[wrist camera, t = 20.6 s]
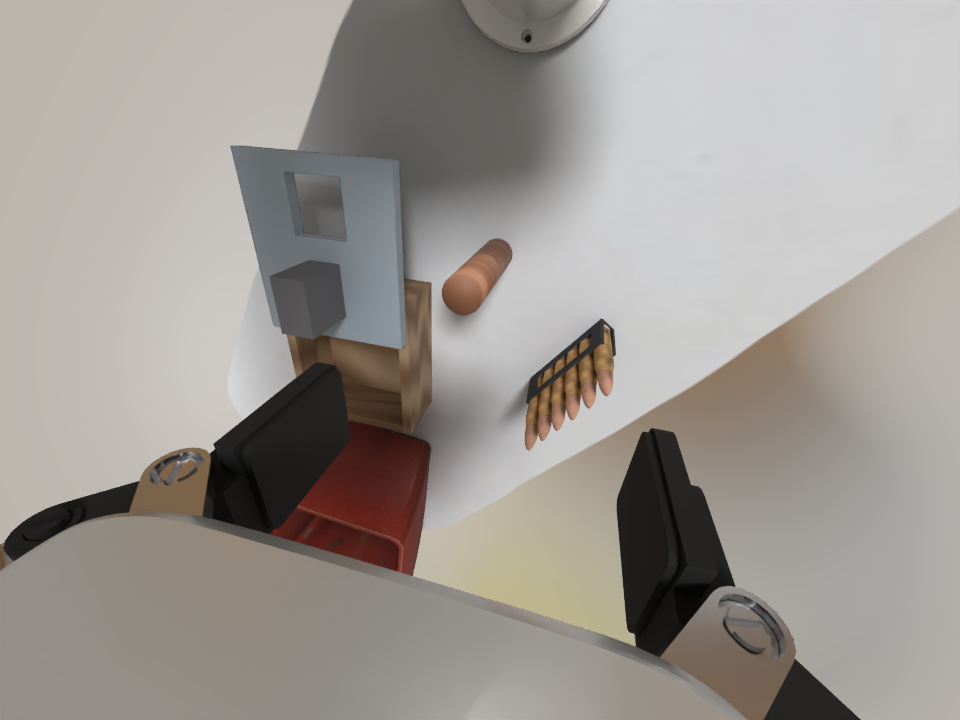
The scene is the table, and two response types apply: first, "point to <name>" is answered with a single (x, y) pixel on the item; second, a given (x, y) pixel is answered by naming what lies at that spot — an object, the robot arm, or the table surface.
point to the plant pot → (367, 501)
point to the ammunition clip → (570, 381)
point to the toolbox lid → (328, 246)
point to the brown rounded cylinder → (476, 277)
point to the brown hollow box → (380, 367)
